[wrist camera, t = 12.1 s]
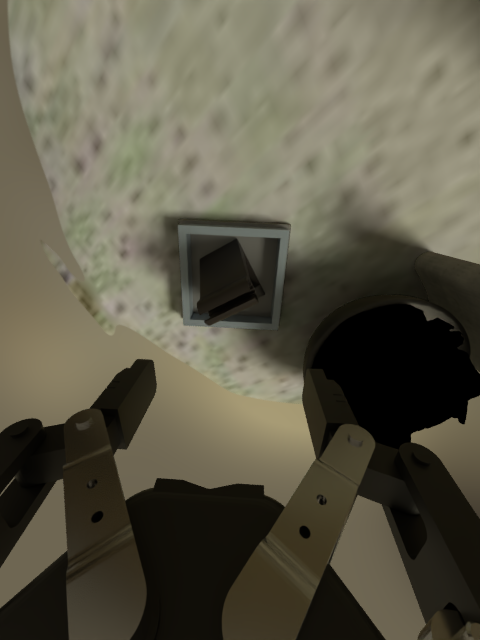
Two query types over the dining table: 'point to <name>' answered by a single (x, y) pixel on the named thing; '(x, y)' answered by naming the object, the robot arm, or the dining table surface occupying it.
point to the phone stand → (227, 283)
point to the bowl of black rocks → (396, 364)
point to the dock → (262, 253)
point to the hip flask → (454, 292)
